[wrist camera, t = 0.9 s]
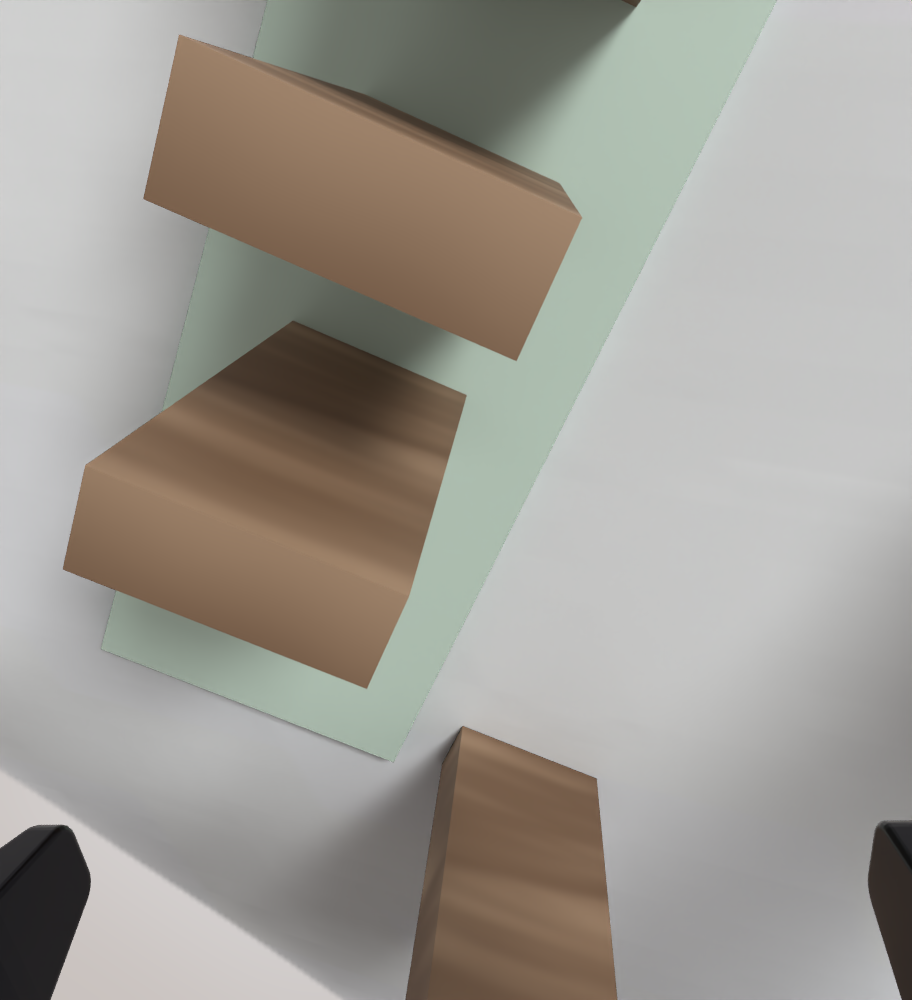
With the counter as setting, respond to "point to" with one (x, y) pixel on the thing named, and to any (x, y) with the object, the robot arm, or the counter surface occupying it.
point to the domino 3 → (513, 882)
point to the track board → (436, 352)
